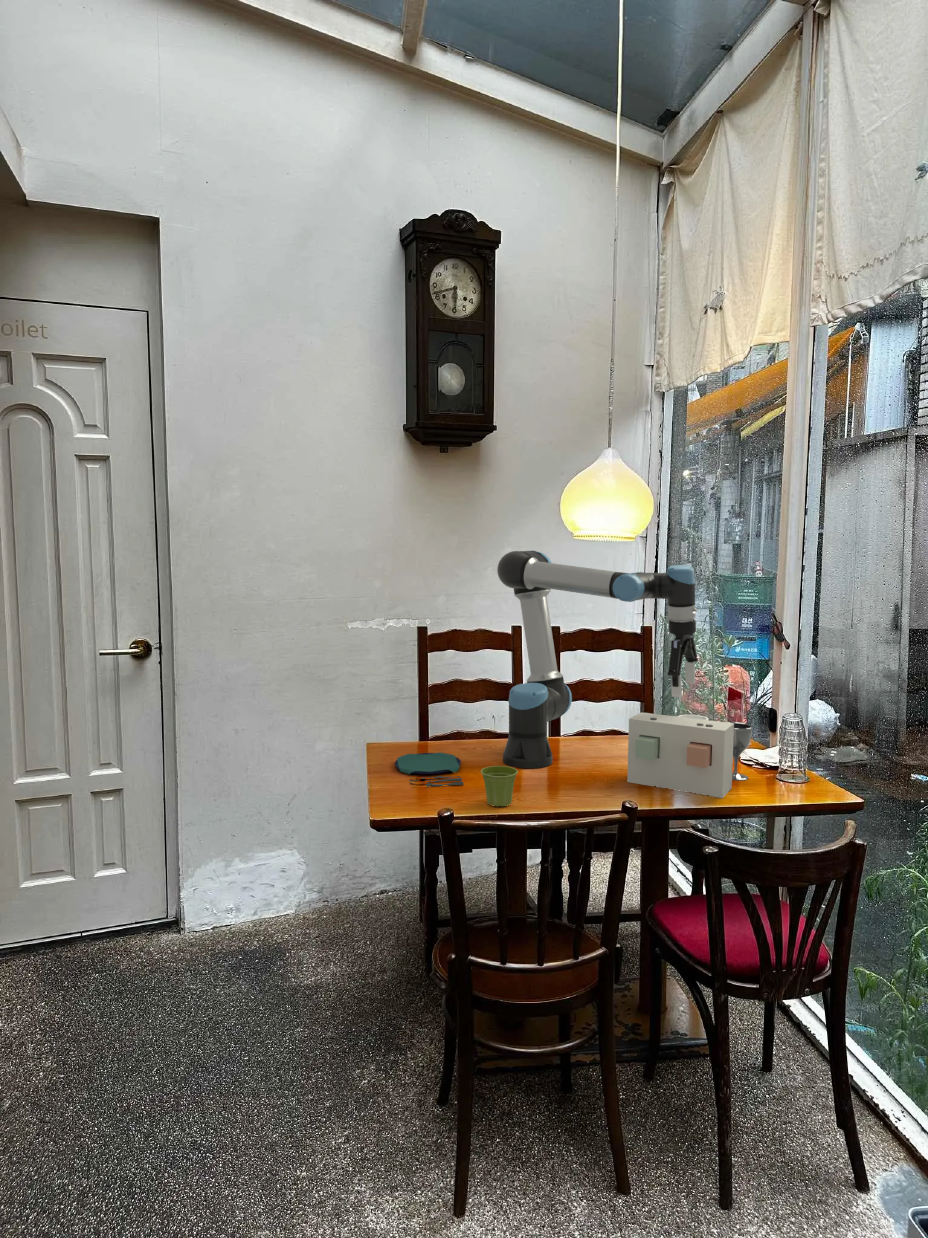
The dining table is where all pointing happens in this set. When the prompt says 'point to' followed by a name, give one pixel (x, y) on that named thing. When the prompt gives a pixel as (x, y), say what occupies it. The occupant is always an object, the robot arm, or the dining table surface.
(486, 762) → the dining table surface
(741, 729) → the wine glass
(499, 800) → the plant pot
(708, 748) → the terracotta button
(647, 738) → the sage button
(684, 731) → the console
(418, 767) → the cutlery set
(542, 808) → the dining table surface
